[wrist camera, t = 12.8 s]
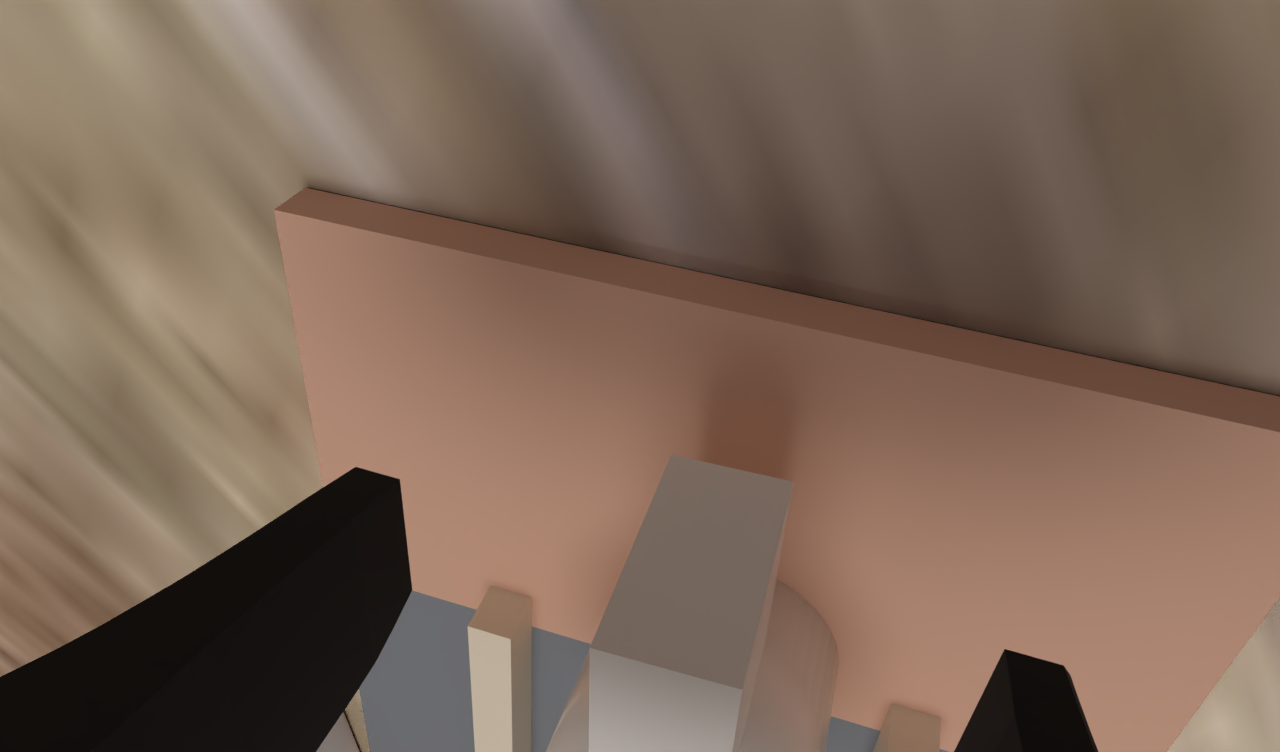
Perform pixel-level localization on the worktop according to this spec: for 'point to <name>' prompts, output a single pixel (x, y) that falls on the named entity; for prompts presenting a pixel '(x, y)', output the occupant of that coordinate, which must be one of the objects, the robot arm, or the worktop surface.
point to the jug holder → (777, 447)
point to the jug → (705, 631)
